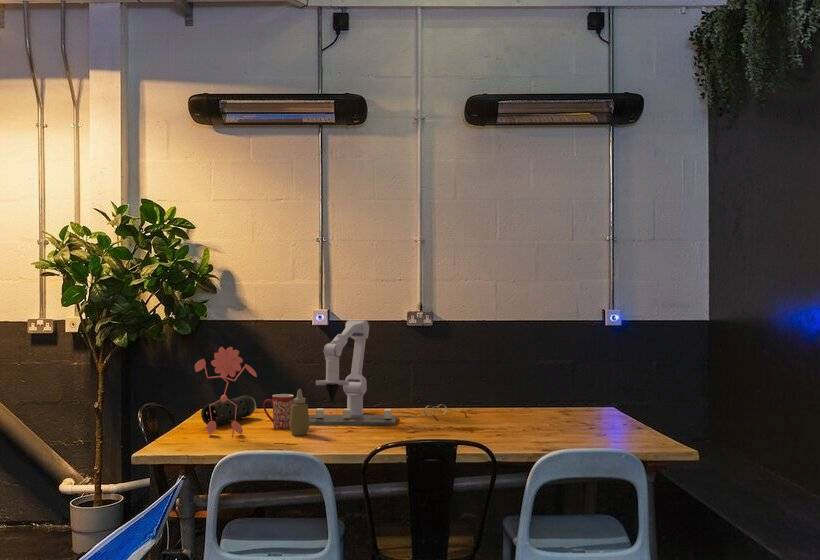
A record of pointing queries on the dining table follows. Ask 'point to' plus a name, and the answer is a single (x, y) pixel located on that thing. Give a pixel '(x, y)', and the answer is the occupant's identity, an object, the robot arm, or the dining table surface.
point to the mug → (280, 410)
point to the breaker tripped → (346, 413)
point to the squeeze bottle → (299, 416)
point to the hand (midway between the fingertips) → (332, 401)
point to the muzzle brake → (228, 410)
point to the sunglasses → (444, 412)
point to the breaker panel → (353, 420)
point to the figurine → (225, 365)
